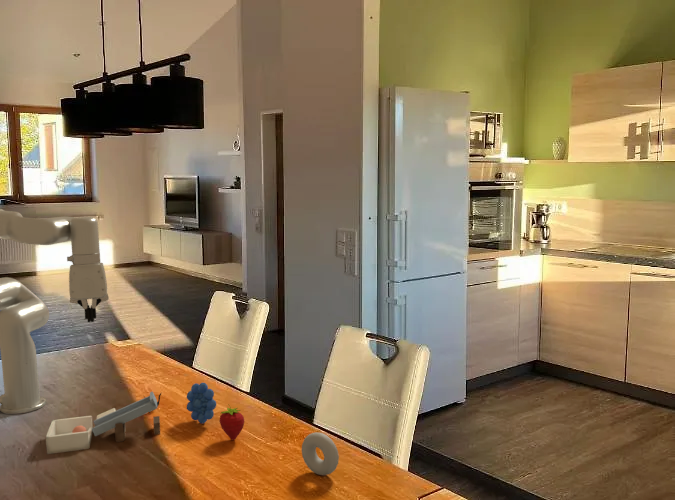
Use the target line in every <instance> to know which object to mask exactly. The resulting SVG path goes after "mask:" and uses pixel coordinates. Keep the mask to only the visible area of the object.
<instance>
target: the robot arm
mask: <svg viewBox="0 0 675 500" xmlns="http://www.w3.org/2000/svg"><path fill="white" fill-rule="evenodd" d="M0 240H6V241H13V242H17V243H20V244H24V245H25V244H26V245H37V246H39V245H40V246H51V245H56V244H61V243H66V242H71V243H70V245H71V255H70V256H67V257H66V261H67V262H71V263H72V264H71V265H69V272H68V276H69V277H68V279H69V280H68V288H69V290H68V291H69V298H70V299H69V302H70V303H71V304H77V305H79V306H80V307H82V309H84V319H85V320H87V323H90V322H91V323H94V322H95V319H97V309H96V308H97V307H98V305H99V304H100V303H103V302H105V301H108V300H109V298H110V297H109V294H108V282H107V275H106V270H105V266H104V263H103V262H101V252H100V251H101V249H100V237H99V224H98V220H97V219H96V217H93V216H82V217H81V216H79V217H74V216H67V215H66V216H64V215H63V216H55V217H48V218H36V217H35V218H34V217H24V216H23V215H22V213H20V212H19V211H11V210H5V209H2V208H0ZM88 300H91V305H89V304H88ZM49 319H50V311H49V308H48V306H47V304H46V303H45V302H44V301H43V300H42V299H41V298H39V297H38V296H37V295H36V294H35V293H33V291H31V290H30V289H29V288H28V287H27V286H26V285H24V284H23V283H22V282H20V280H18V279H15V278H13V277H8V276H5V277H0V359H1V369H2V370H1V371H2V379H3V389H4V393H3V394H1V395H0V412H1V413H3V414H8V415H10V414H11V415H15V414H16V415H17V414H25V413H29V412H33V411H36V410H39V409H41V408H42V407H44V406H45V405H46V403H47V402H46V401H47V400H46V398H45V397H43V396H40V395H41V393H40V383H39V373H38V372H39V370H38V358H37V348H36V345H35V344H36V343H35V342H34V339H33V338H32V336H31V333H32V332H34V331H35V330H38V329H41V328H42V327H45V325H46V324H47V322H48V321H49Z"/></svg>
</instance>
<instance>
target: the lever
mask: <svg viewBox="0 0 675 500" xmlns="http://www.w3.org/2000/svg"><path fill="white" fill-rule="evenodd" d="M157 402H158V400H157V398H156V396H155V394H154V391H150V392H149V395H148V396H146V398H145V397H143V398H142V399H139V400H137V401H135V402H132V403H130V404H128V405H126V406H124V407H122V408H119V409H116V408H115V407H113V408H110V409H108V410H107V411H104V412H102V413H99V414H98V415H96V419H94V420H92V423H93V424H94V426H93V428H92V431H93V433H92V434H93V435H94V437H98V436H100V435H102V434H103V433H106V432H108V431H110V430H113V429H115V424H117V423H123V424H124V423H125V424H126V423H128V422H130V421H133V420H134V419H137V418H139V417H142V416H144V415H146V414H148V412H150V413H151V412H152V411H155V410H157V409H158V407H157Z"/></svg>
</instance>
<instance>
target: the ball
mask: <svg viewBox="0 0 675 500" xmlns="http://www.w3.org/2000/svg"><path fill="white" fill-rule="evenodd" d="M85 431H86V428H85V427H84V426H76V427H75V428H74V429H73V431H72V433H77V432H85Z"/></svg>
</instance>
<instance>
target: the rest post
mask: <svg viewBox="0 0 675 500" xmlns="http://www.w3.org/2000/svg"><path fill="white" fill-rule="evenodd" d="M152 419H153V435H154V436H155V435H161V420H160V416H159V415H156V416H153V418H152Z"/></svg>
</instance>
